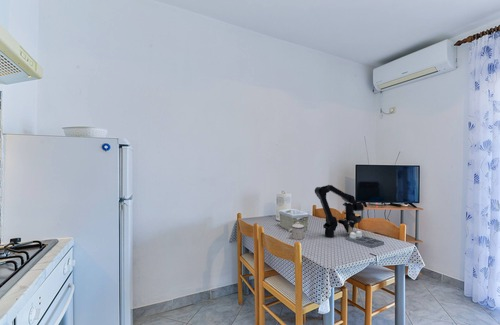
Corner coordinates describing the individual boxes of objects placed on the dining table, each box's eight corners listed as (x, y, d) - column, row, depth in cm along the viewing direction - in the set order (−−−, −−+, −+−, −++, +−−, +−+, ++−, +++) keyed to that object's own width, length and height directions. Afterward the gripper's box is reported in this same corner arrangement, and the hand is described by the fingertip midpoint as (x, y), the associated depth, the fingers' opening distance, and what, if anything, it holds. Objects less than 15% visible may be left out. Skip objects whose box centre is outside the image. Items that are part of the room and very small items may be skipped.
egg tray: (371, 249, 157) (371, 244, 157) (345, 240, 174) (345, 236, 174) (383, 245, 163) (383, 241, 163) (357, 237, 181) (357, 233, 181)
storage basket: (278, 226, 215) (278, 209, 215) (294, 224, 221) (294, 208, 221) (292, 233, 193) (292, 215, 193) (309, 231, 199) (309, 213, 199)
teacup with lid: (300, 235, 187) (300, 220, 187) (306, 239, 179) (306, 223, 179) (286, 237, 184) (286, 221, 184) (291, 240, 175) (291, 224, 175)
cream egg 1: (353, 241, 170) (353, 233, 170) (348, 239, 174) (348, 231, 174) (357, 240, 172) (357, 232, 172) (352, 238, 176) (352, 230, 176)
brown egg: (350, 234, 182) (350, 227, 182) (345, 233, 186) (345, 225, 186) (353, 233, 184) (353, 226, 184) (349, 232, 188) (349, 225, 188)
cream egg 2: (359, 239, 173) (359, 231, 173) (354, 238, 177) (354, 230, 177) (363, 238, 175) (363, 231, 175) (358, 237, 179) (358, 229, 179)
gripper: (350, 214, 173) (350, 236, 174) (366, 211, 183) (366, 232, 183) (337, 212, 183) (337, 232, 183) (354, 209, 192) (354, 229, 192)
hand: (349, 231), depth 185 cm, fingers closed on brown egg, 4 cm apart
